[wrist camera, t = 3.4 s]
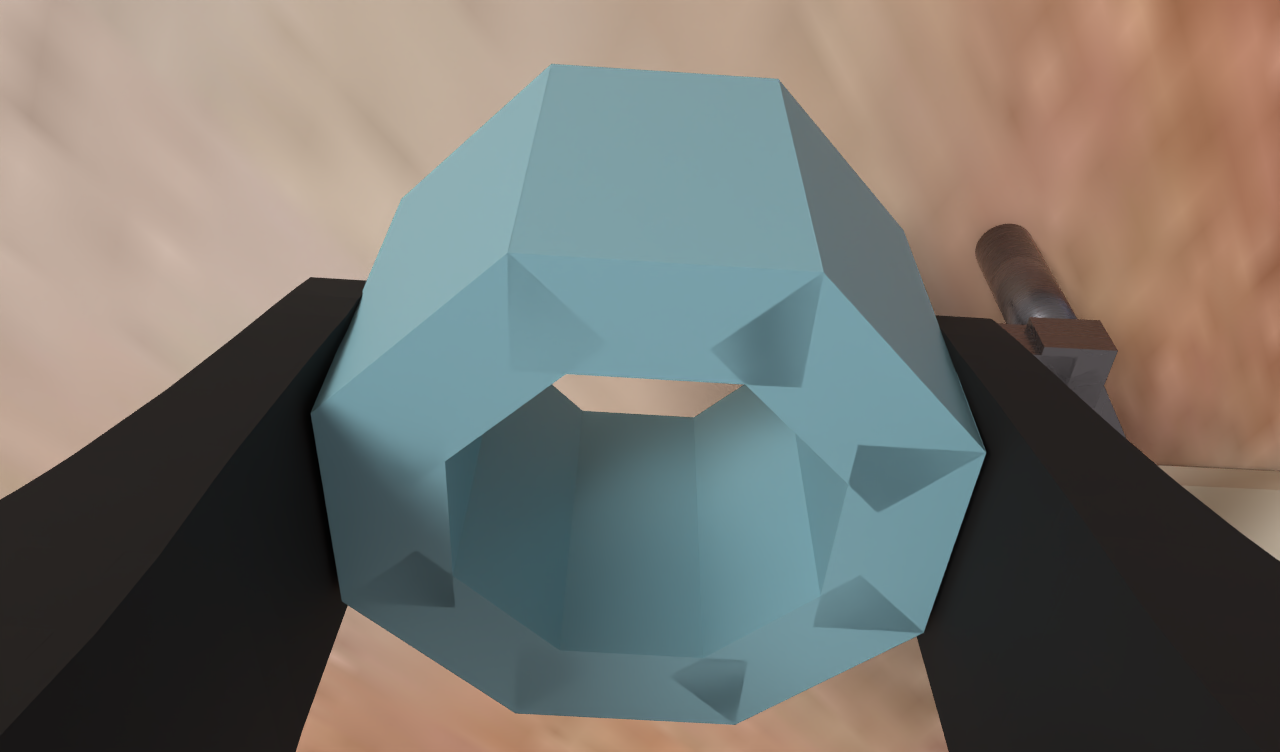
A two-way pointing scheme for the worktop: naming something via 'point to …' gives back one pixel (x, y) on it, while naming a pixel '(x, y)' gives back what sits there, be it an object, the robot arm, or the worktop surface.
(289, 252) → the worktop surface
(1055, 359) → the handle
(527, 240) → the ring
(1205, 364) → the worktop surface
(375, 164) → the worktop surface
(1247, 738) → the robot arm
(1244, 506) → the peg stand
